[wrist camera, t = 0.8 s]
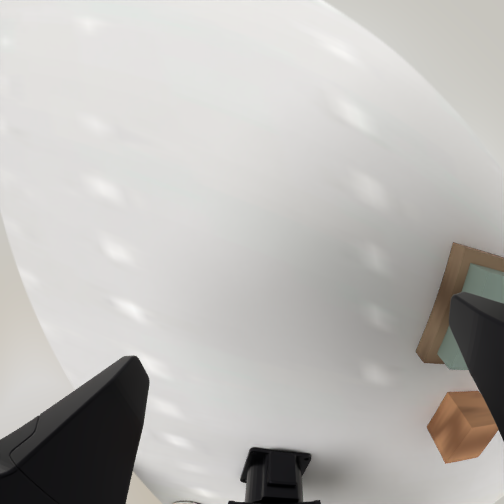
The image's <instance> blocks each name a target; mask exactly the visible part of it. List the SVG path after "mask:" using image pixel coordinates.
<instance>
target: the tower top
mask: <svg viewBox="0 0 504 504" xmlns="http://www.w3.org/2000/svg"><path fill="white" fill-rule="evenodd" d="M461 292H468V293H471V294H474V295H478V296H481V297H484V298H487V299H491V300H494V301H497V302H500V303H504V272H502V271H498V270H495V269H491V268H487V267H484V266H480V265H476V264H472V263H470V266H469V270H468V273H467V276H466V279H465V282H464V285H463V289H462V291H461ZM437 355H438V356H439V357H440V358H441V359H442V361H443V362H444V363H445V364H446V366H447V367H448V368H449V369H452V370H468V368H467V365H466V363H465V361H464V358H463V356H462V354H461V351H460V349H459V347H458V345H457V342H456V340H455V338H454V336H453V333H452V331H451V329H450V326H449V327H448V329H447V332H446V334H445V337H444V339H443V341H442V344H441V346H440V348H439V350H438V353H437Z"/></svg>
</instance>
